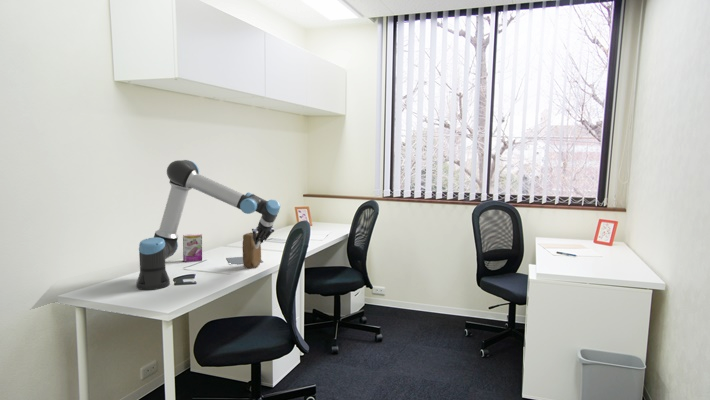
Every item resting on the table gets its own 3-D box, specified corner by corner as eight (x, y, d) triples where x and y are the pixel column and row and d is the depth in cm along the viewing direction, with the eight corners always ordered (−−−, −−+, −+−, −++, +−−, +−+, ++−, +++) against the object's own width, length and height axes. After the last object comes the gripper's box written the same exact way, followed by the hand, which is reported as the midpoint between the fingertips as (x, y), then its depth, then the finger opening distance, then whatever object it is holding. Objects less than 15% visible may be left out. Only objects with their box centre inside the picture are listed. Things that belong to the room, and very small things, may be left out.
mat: (230, 265, 261) (230, 264, 261) (226, 258, 278) (226, 257, 278) (263, 262, 269) (263, 261, 269) (257, 256, 286) (257, 255, 286)
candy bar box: (183, 262, 266) (182, 235, 265) (183, 260, 271) (182, 234, 269) (202, 260, 271) (202, 234, 269) (202, 259, 275) (201, 233, 274)
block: (252, 268, 252) (251, 234, 250) (241, 267, 255) (240, 234, 254) (263, 264, 262) (262, 232, 260) (253, 263, 265) (252, 231, 263)
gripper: (256, 228, 232) (246, 253, 248) (279, 226, 239) (268, 250, 255) (253, 217, 236) (243, 242, 252) (275, 215, 243) (265, 240, 259)
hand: (256, 246), depth 253 cm, fingers closed
